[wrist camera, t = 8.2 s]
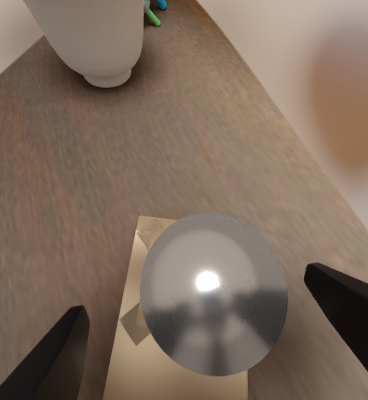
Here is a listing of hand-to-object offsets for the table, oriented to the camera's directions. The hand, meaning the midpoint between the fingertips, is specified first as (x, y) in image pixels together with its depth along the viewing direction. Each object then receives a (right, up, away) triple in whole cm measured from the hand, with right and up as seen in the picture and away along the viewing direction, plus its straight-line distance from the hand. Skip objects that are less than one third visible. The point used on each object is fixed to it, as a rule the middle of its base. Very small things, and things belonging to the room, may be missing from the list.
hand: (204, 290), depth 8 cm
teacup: (-10, +21, +17) cm, 29 cm away
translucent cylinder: (-1, -3, +8) cm, 9 cm away
